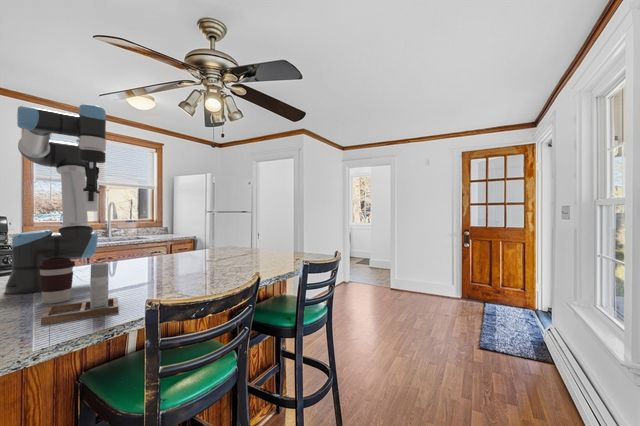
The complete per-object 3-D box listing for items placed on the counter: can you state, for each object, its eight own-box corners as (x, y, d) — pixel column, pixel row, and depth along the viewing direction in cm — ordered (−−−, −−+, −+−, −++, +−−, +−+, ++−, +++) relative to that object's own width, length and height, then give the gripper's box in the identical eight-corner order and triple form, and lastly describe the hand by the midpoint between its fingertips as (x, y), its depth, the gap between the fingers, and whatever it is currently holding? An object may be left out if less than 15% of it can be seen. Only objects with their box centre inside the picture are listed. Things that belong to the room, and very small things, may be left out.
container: (93, 308, 98) (93, 263, 98) (110, 307, 99) (110, 262, 99) (87, 313, 93) (88, 265, 93) (105, 312, 95) (105, 264, 95)
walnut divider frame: (47, 312, 94) (48, 306, 94) (117, 303, 104) (117, 297, 104) (40, 324, 84) (40, 317, 84) (118, 313, 94) (118, 306, 94)
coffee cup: (52, 306, 100) (52, 261, 99) (29, 304, 102) (29, 260, 101) (81, 298, 109) (82, 256, 109) (60, 296, 111) (60, 255, 111)
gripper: (81, 154, 113) (81, 210, 113) (75, 142, 93) (74, 211, 93) (105, 156, 117) (105, 210, 118) (105, 146, 97) (104, 211, 97)
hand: (91, 211), depth 105 cm, fingers open, 13 cm apart
